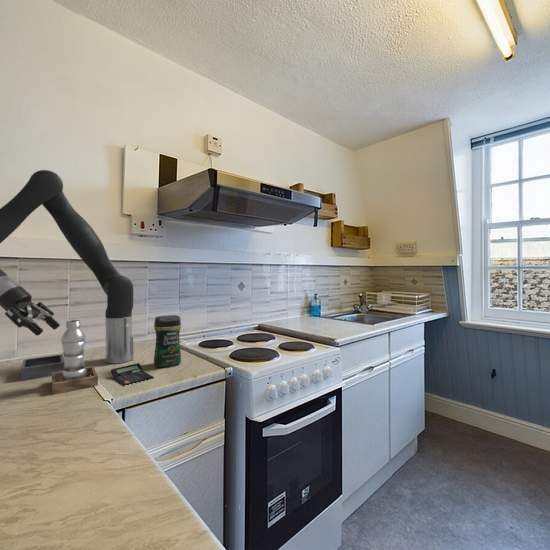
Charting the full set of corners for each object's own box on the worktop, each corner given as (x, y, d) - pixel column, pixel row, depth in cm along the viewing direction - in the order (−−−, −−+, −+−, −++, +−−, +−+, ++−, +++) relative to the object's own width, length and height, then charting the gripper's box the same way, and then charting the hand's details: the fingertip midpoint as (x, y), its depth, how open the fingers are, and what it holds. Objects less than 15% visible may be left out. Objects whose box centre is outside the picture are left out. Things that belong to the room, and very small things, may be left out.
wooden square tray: (93, 374, 108) (93, 366, 108) (97, 385, 99) (97, 376, 98) (52, 382, 101) (51, 372, 101) (52, 394, 92) (52, 384, 92)
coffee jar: (156, 369, 113) (156, 318, 113) (152, 363, 120) (151, 315, 119) (183, 365, 119) (183, 316, 118) (178, 359, 125) (177, 313, 125)
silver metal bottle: (75, 388, 96) (74, 323, 95) (56, 386, 97) (55, 322, 97) (91, 381, 102) (90, 319, 102) (73, 379, 104) (72, 318, 103)
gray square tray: (63, 364, 118) (62, 354, 118) (64, 373, 109) (64, 362, 109) (23, 370, 111) (23, 359, 111) (21, 380, 102) (21, 368, 102)
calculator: (124, 387, 98) (124, 377, 98) (110, 377, 106) (110, 369, 106) (153, 379, 105) (153, 370, 105) (138, 371, 113) (138, 362, 113)
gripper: (0, 287, 90) (43, 326, 92) (33, 283, 104) (70, 317, 106) (-20, 305, 90) (24, 344, 91) (16, 299, 104) (54, 333, 105)
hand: (49, 330), depth 98 cm, fingers open, 8 cm apart
